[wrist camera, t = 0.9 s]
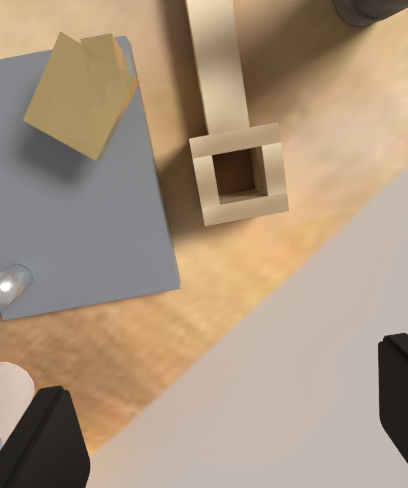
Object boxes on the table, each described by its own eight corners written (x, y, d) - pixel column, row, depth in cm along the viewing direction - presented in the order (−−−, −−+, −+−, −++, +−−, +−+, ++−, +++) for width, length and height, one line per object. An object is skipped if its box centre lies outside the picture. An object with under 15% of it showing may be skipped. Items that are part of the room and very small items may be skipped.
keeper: (99, 42, 25) (70, 7, 19) (157, 78, 26) (147, 55, 20) (61, 127, 27) (22, 120, 21) (117, 158, 28) (96, 161, 22)
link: (157, -34, 24) (149, -80, 20) (241, -50, 24) (253, -100, 19) (202, 213, 29) (204, 226, 24) (272, 200, 29) (288, 210, 24)
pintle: (13, 259, 30) (-26, 282, 24) (38, 254, 30) (5, 277, 24) (21, 282, 30) (-15, 310, 25) (46, 278, 30) (15, 305, 25)
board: (-67, 81, 26) (-88, 76, 24) (130, 44, 26) (125, 35, 24) (15, 310, 31) (3, 320, 29) (180, 280, 31) (179, 288, 29)
